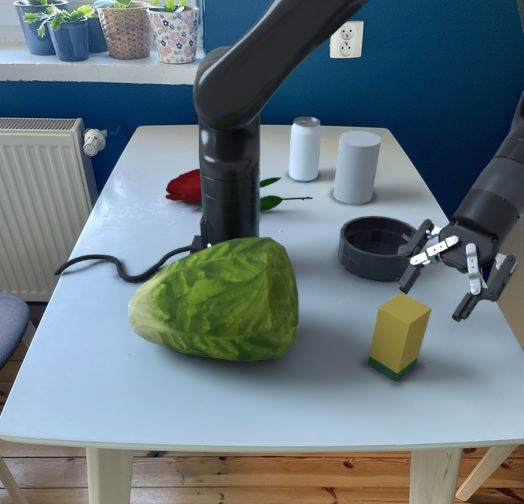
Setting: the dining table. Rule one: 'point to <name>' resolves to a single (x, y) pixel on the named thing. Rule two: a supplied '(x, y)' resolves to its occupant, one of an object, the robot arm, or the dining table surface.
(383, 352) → the sponge
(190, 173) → the flower
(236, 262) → the lettuce
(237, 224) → the robot arm
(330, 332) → the dining table surface
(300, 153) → the can
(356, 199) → the light grey cylinder
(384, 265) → the bowl
